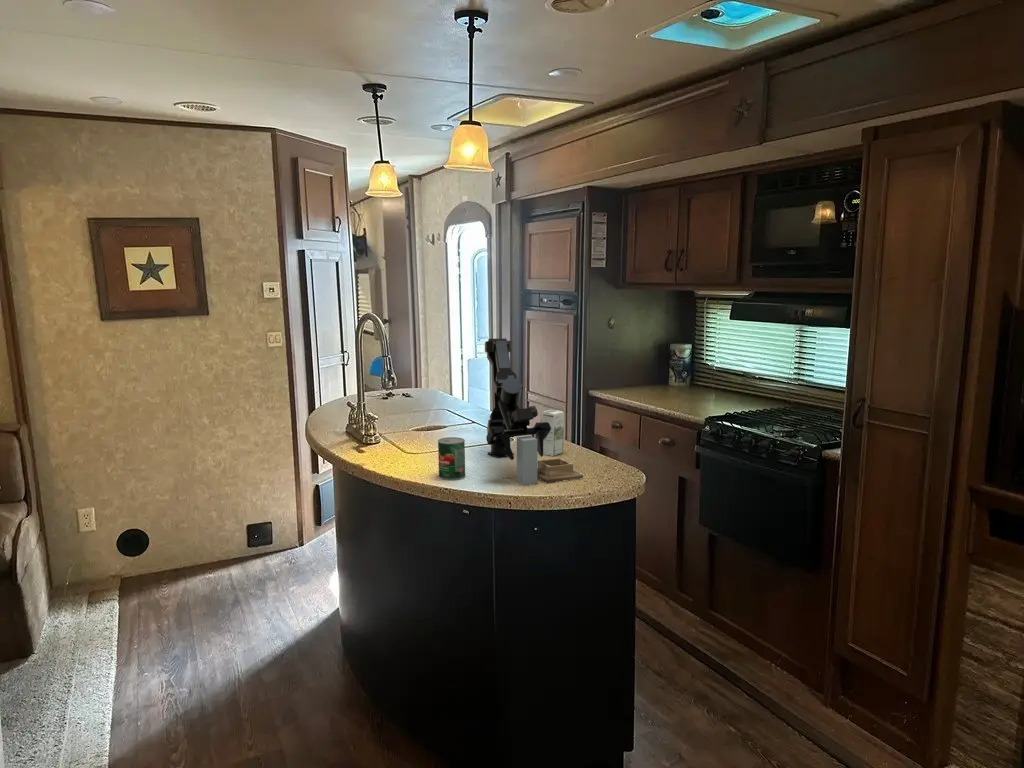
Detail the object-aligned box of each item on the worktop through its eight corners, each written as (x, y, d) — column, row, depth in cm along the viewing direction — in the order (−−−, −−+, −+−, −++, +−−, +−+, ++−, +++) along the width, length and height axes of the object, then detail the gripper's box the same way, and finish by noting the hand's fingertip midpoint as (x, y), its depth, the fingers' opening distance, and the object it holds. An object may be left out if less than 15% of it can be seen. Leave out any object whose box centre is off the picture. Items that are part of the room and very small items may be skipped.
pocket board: (528, 472, 206) (528, 460, 206) (563, 468, 211) (563, 455, 211) (546, 483, 195) (546, 469, 195) (582, 478, 200) (583, 465, 200)
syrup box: (549, 450, 233) (550, 409, 231) (564, 453, 230) (564, 411, 227) (539, 454, 229) (539, 411, 227) (554, 456, 225) (554, 413, 223)
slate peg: (516, 481, 197) (516, 437, 196) (530, 479, 199) (530, 436, 197) (523, 485, 194) (523, 440, 192) (537, 483, 195) (537, 439, 193)
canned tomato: (468, 473, 206) (468, 437, 204) (460, 481, 198) (459, 443, 196) (444, 472, 208) (443, 436, 206) (434, 479, 200) (433, 442, 198)
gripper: (489, 399, 193) (505, 445, 185) (548, 394, 201) (566, 439, 193) (479, 421, 202) (494, 466, 193) (536, 416, 209) (553, 459, 201)
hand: (527, 457), depth 195 cm, fingers open, 9 cm apart
